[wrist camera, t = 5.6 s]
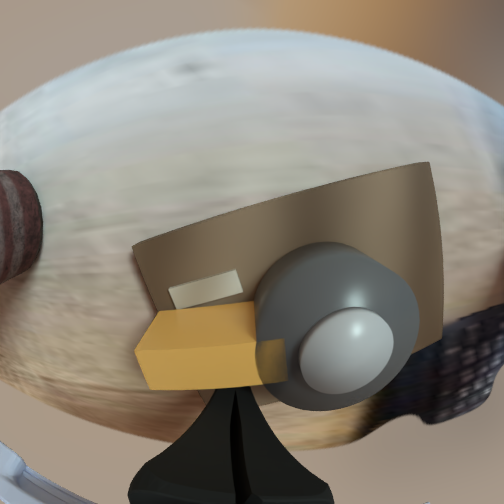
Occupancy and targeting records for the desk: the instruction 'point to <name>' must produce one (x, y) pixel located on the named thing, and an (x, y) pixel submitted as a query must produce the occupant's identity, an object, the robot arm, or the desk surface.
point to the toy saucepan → (293, 333)
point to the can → (18, 224)
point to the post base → (302, 233)
